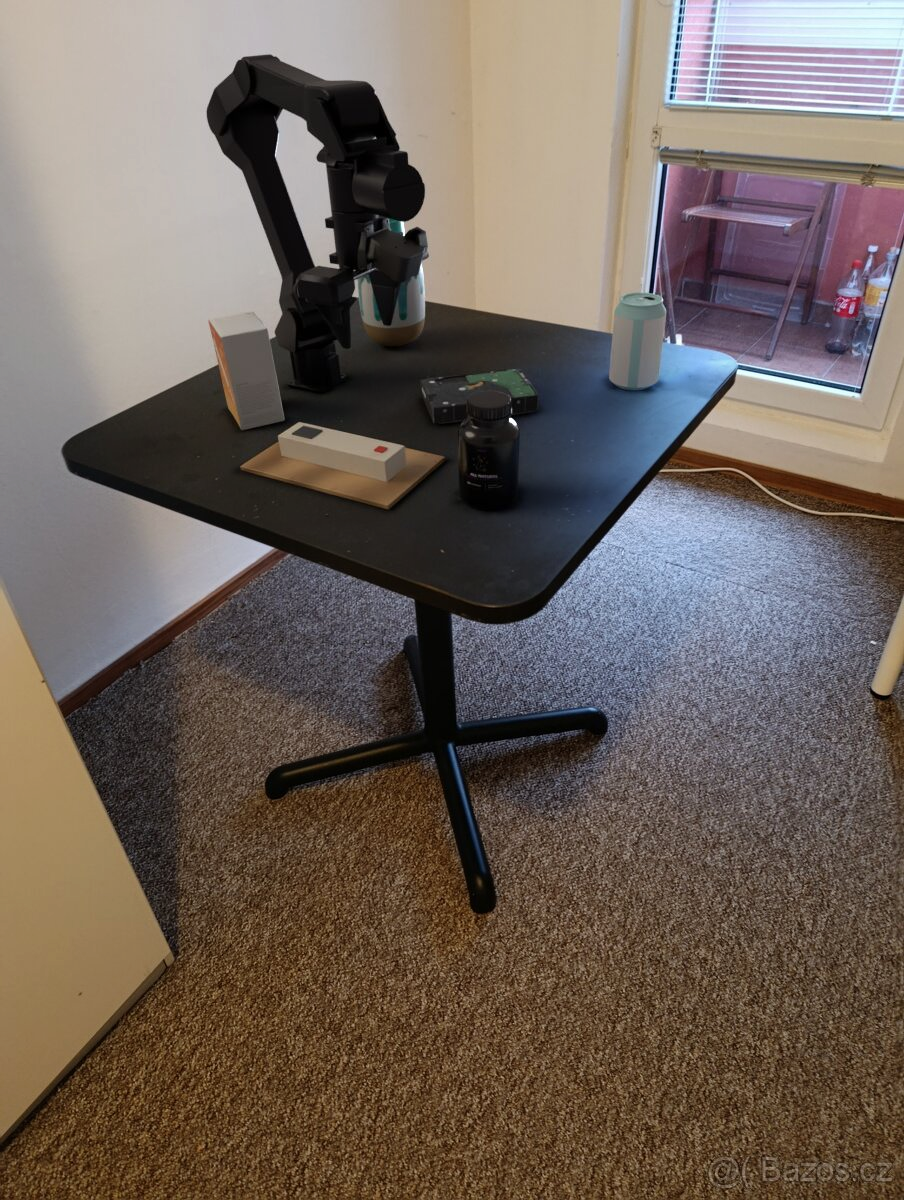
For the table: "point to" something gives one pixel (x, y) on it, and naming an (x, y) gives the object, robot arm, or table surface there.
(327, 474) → the cork mat
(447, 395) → the disk drive
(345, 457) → the remote
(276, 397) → the small box
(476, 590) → the table surface
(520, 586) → the table surface
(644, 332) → the can
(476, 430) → the supplement bottle
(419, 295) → the vase
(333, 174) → the robot arm
